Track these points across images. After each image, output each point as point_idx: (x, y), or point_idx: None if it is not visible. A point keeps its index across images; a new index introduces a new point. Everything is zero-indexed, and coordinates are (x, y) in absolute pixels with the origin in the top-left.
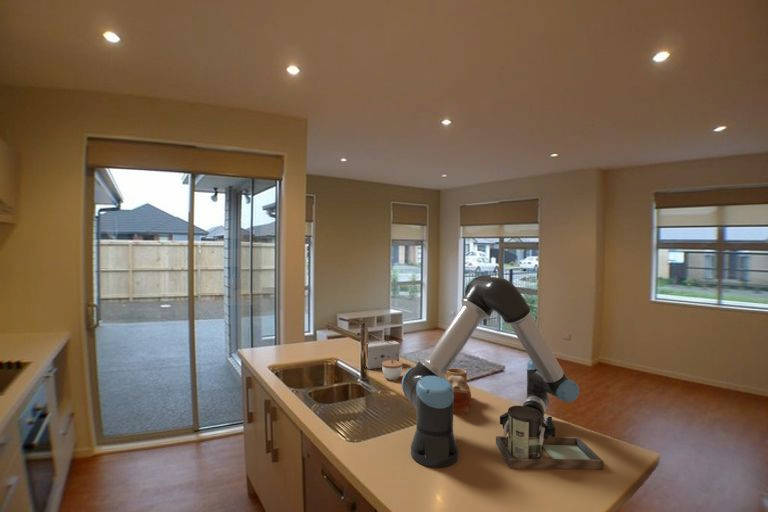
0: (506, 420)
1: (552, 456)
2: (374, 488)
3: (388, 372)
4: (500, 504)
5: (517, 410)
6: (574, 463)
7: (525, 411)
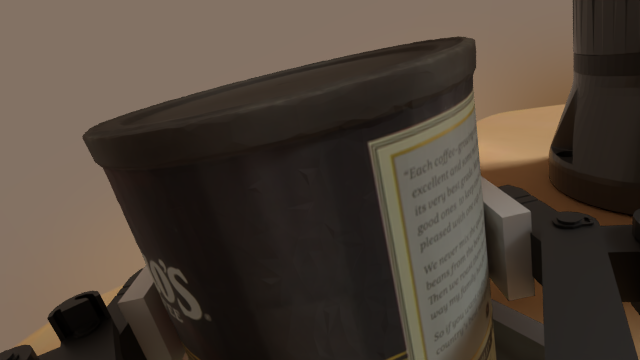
0: (550, 223)
1: None
2: (558, 106)
3: None
4: None
5: (362, 65)
6: None
7: (277, 85)
